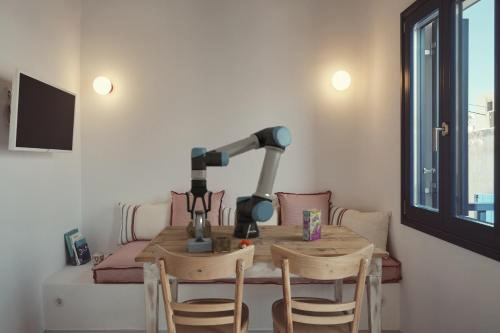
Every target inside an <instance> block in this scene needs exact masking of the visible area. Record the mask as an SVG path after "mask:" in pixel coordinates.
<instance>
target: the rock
mask: <svg viewBox="0 0 500 333" xmlns="http://www.w3.org/2000/svg"><path fill="white" fill-rule="evenodd" d="M186 232H187V234H188V237H191V236H192V237H196V218H195V227H193V220H189V222H188V224H187V226H186ZM211 234H212V224H211V222H210V220H207V219H205V226H203V238H205V237H206V238H210V236H211Z"/></svg>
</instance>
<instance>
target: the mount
mask: <svg viewBox="0 0 500 333" xmlns="http://www.w3.org/2000/svg"><path fill="white" fill-rule="evenodd" d="M231 241H232V240H231V238H230V237H229V236H228V235H222V236H221V235H219V236H211V242H212V249H213V250H212V252H213V251H214V252H222V251H232V246H231V243H232V242H231ZM214 252H213V253H214Z"/></svg>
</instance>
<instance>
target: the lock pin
mask: <svg viewBox="0 0 500 333" xmlns="http://www.w3.org/2000/svg"><path fill="white" fill-rule="evenodd" d="M203 212H204V209H203V210H201V209H198V210H195V209H194V213H195V219H196V236H195V239H196V242H201V241H203V238H204V237H203Z"/></svg>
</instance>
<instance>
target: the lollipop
mask: <svg viewBox="0 0 500 333" xmlns="http://www.w3.org/2000/svg"><path fill="white" fill-rule="evenodd" d="M250 226H251V225H249V229H248V232H247V233H249V232H256V231H254V230H253V231H249V230H250ZM247 237H248V234H247ZM249 245H251V246H253V242H252V241H249V240H248V238H245V239H242V240H241V241H240V242H238V244H237V247H238V248H239V249H242V248H243V247H246V246H249Z"/></svg>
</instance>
